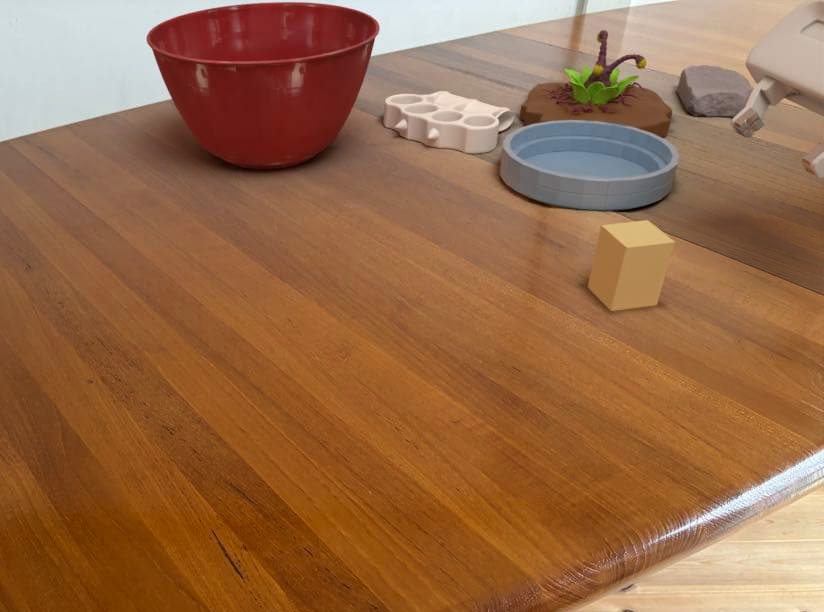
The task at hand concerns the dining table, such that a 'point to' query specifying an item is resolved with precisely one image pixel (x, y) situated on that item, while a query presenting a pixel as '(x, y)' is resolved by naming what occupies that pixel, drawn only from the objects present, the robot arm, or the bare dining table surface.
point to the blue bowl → (588, 165)
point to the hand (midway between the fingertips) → (771, 149)
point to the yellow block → (630, 264)
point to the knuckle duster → (447, 121)
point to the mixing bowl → (265, 77)
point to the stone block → (713, 91)
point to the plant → (599, 98)
